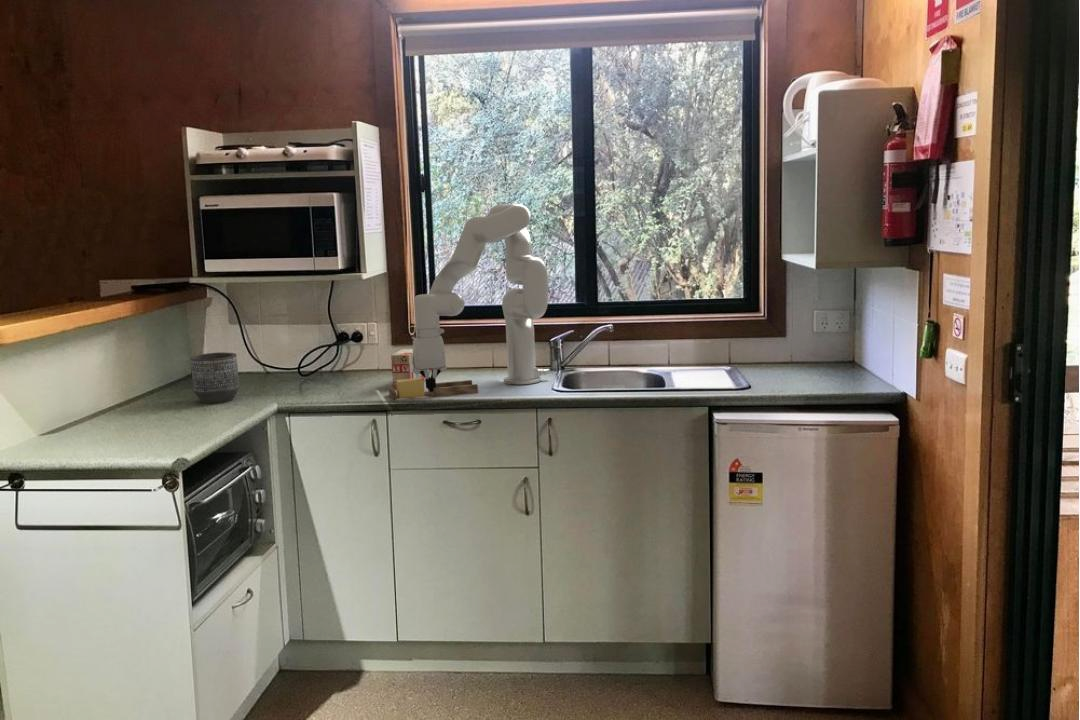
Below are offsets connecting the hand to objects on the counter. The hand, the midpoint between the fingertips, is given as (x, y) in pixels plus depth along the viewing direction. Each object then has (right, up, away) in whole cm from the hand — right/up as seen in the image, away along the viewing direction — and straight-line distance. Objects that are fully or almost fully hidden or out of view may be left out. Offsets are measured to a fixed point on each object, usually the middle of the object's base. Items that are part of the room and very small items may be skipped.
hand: (431, 390), depth 302 cm
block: (-6, -2, -2) cm, 7 cm away
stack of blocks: (-9, +1, +22) cm, 24 cm away
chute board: (+1, -2, +1) cm, 2 cm away
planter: (-70, -4, +6) cm, 70 cm away
